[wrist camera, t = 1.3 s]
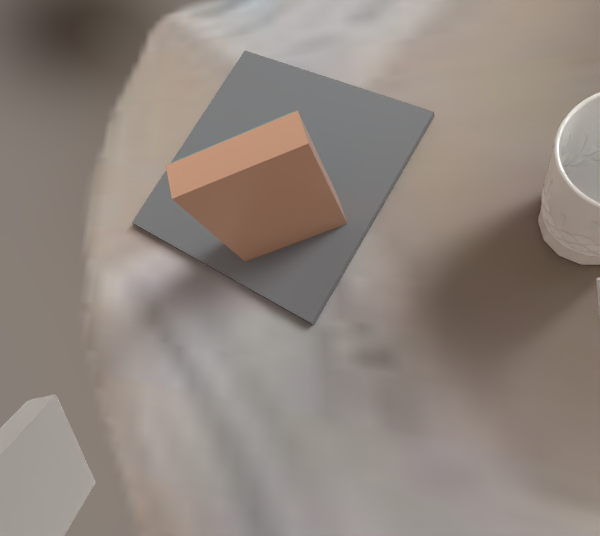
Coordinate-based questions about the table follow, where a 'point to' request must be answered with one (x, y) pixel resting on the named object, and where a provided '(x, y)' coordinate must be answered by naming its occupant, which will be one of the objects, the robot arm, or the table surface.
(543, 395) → the table surface
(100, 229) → the table surface
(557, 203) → the white cup
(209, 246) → the mat
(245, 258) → the block
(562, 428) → the table surface
